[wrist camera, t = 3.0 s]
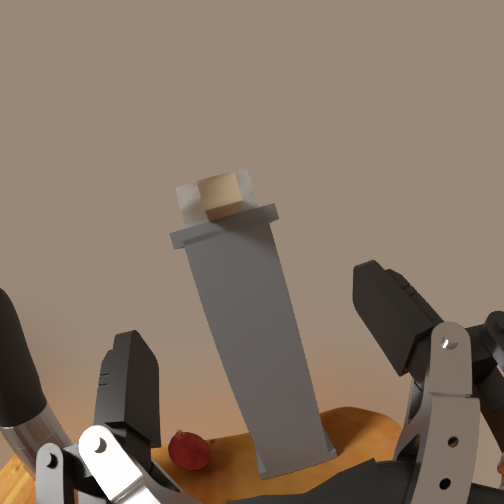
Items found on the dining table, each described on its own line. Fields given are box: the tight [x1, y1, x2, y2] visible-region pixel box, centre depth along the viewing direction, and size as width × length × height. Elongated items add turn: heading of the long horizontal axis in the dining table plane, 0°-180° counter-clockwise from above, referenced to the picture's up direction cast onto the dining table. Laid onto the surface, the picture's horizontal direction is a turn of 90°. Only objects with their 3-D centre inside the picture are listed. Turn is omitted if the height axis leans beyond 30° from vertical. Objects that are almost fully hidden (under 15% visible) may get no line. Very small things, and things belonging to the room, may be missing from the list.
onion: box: [168, 430, 210, 470], centre depth 31 cm, size 6×6×8 cm
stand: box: [170, 203, 337, 480], centre depth 29 cm, size 10×6×32 cm, turn 95°
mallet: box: [175, 169, 258, 228], centre depth 24 cm, size 7×14×4 cm, turn 7°
